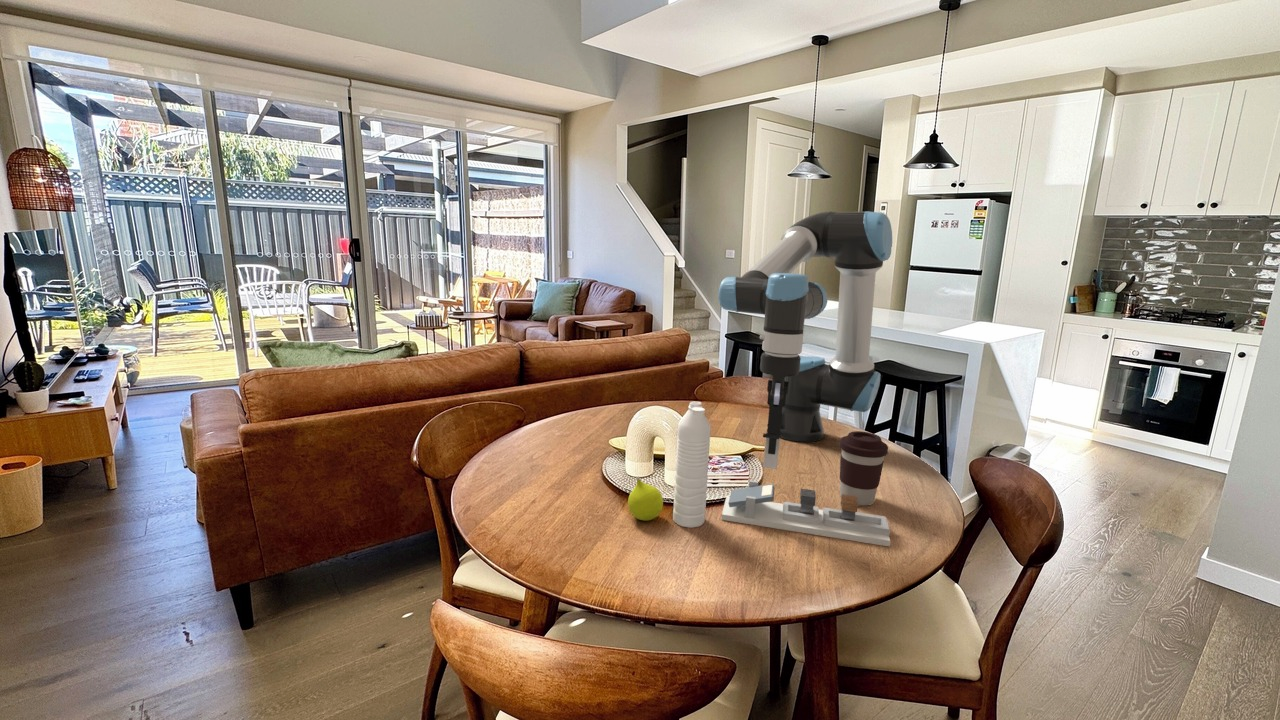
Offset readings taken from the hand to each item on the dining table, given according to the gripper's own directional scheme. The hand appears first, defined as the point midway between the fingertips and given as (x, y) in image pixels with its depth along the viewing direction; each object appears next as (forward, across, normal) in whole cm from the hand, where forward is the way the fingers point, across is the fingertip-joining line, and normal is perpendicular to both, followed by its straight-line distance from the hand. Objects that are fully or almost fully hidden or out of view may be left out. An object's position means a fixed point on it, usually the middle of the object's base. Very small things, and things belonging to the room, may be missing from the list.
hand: (770, 466), depth 114 cm
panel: (+11, 0, +7) cm, 13 cm away
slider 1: (+10, 0, +8) cm, 13 cm away
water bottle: (+12, +8, -15) cm, 20 cm away
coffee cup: (+11, -15, +19) cm, 27 cm away
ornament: (+12, +9, -24) cm, 28 cm away
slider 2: (+10, 0, +16) cm, 19 cm away
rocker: (+7, 0, -3) cm, 8 cm away
